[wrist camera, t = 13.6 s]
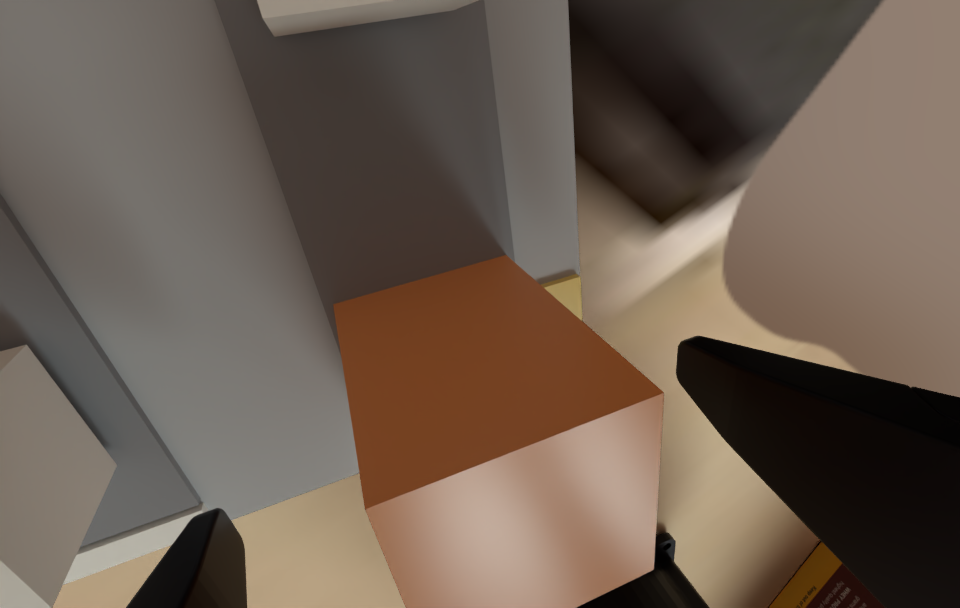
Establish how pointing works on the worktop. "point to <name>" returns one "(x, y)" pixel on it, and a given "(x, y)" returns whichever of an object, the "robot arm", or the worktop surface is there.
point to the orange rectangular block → (499, 442)
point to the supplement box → (824, 585)
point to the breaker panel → (256, 222)
